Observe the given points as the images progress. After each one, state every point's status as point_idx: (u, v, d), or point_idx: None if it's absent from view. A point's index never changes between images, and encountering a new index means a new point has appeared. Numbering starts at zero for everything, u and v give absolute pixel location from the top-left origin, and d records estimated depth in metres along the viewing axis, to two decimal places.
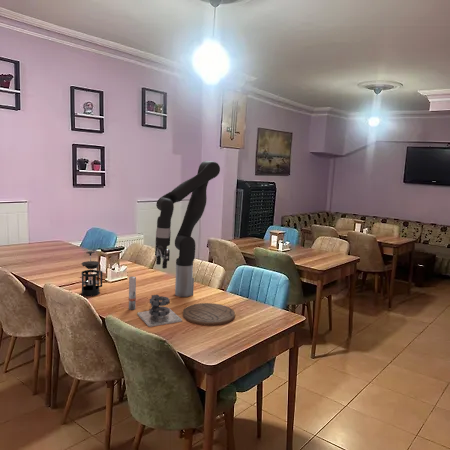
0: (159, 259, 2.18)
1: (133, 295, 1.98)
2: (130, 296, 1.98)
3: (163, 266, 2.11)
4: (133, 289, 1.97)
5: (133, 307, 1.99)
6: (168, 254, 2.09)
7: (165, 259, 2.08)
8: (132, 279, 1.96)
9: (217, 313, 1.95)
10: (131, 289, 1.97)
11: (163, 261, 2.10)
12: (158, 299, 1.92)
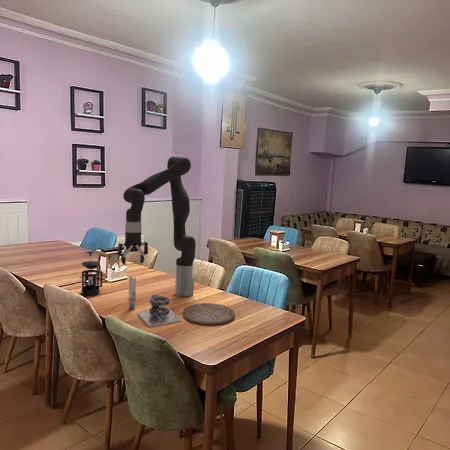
0: None
1: (133, 295, 1.98)
2: (130, 296, 1.98)
3: (142, 261, 1.98)
4: (133, 289, 1.97)
5: (133, 307, 1.99)
6: None
7: (147, 252, 1.99)
8: (132, 279, 1.96)
9: (217, 313, 1.95)
10: (131, 289, 1.97)
11: (143, 255, 1.98)
12: (158, 299, 1.92)
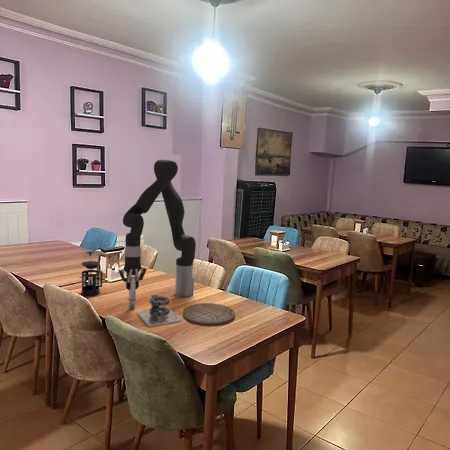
0: None
1: (133, 295, 1.98)
2: (130, 296, 1.98)
3: (137, 286, 1.99)
4: (133, 289, 1.97)
5: (133, 307, 1.99)
6: None
7: None
8: (132, 279, 1.96)
9: (217, 313, 1.95)
10: (131, 289, 1.97)
11: (138, 281, 1.98)
12: (158, 299, 1.92)
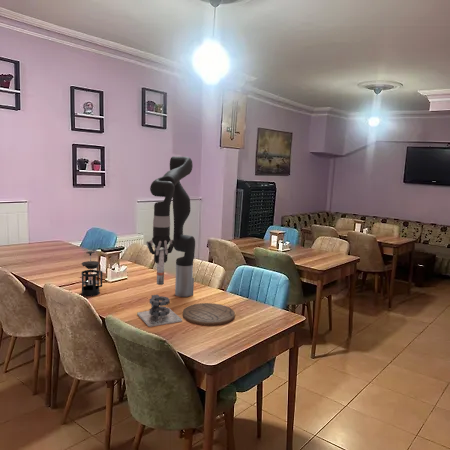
0: None
1: (162, 269, 1.86)
2: (158, 270, 1.86)
3: (166, 260, 1.87)
4: (162, 262, 1.85)
5: (161, 282, 1.87)
6: None
7: None
8: (161, 252, 1.84)
9: (217, 313, 1.95)
10: (160, 262, 1.85)
11: (166, 254, 1.86)
12: (158, 299, 1.92)
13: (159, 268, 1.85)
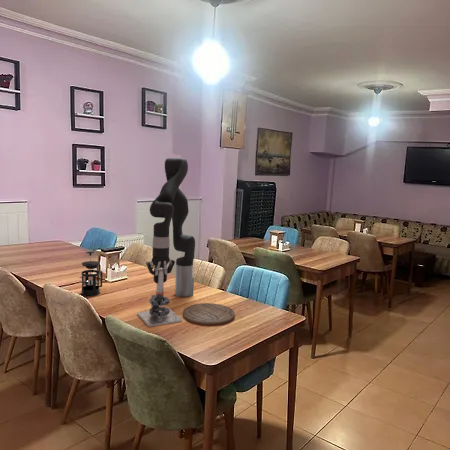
0: None
1: (161, 289, 1.87)
2: (158, 290, 1.87)
3: (165, 280, 1.88)
4: (161, 282, 1.87)
5: None
6: None
7: (170, 270, 1.89)
8: (160, 272, 1.86)
9: (217, 313, 1.95)
10: (159, 282, 1.86)
11: (166, 274, 1.88)
12: None
13: (158, 288, 1.87)
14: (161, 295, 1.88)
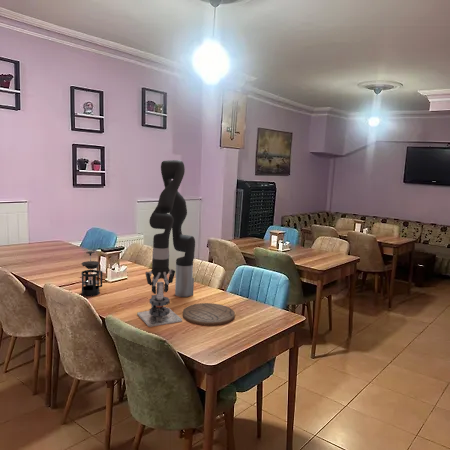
0: None
1: None
2: None
3: (167, 289, 1.90)
4: (161, 295, 1.88)
5: None
6: None
7: None
8: (160, 284, 1.87)
9: (217, 313, 1.95)
10: (159, 295, 1.87)
11: (168, 284, 1.89)
12: None
13: None
14: (161, 307, 1.89)
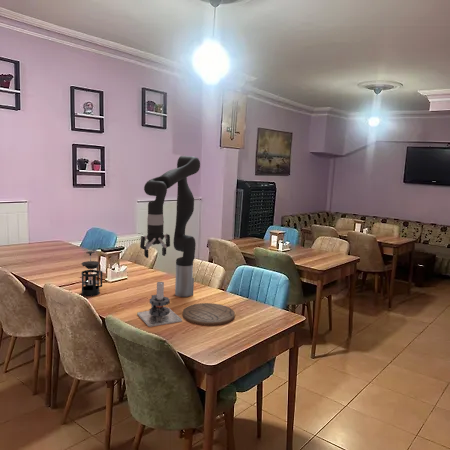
0: None
1: None
2: None
3: (165, 253, 1.98)
4: (161, 295, 1.88)
5: None
6: None
7: (169, 244, 1.98)
8: (160, 285, 1.87)
9: (217, 313, 1.95)
10: (159, 295, 1.87)
11: (166, 247, 1.97)
12: None
13: None
14: (161, 308, 1.89)
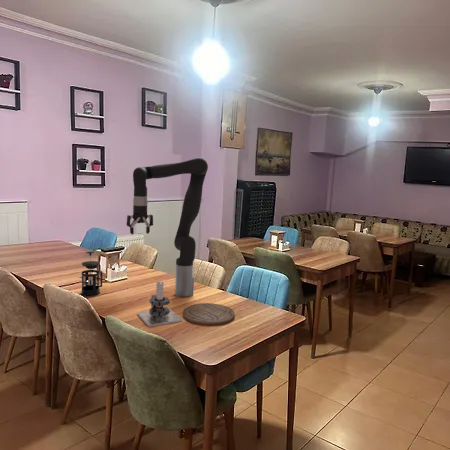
0: None
1: None
2: None
3: (148, 231, 2.25)
4: (161, 295, 1.88)
5: None
6: None
7: (152, 223, 2.25)
8: (160, 285, 1.87)
9: (217, 313, 1.95)
10: (159, 295, 1.87)
11: (149, 226, 2.24)
12: None
13: None
14: (161, 308, 1.89)
